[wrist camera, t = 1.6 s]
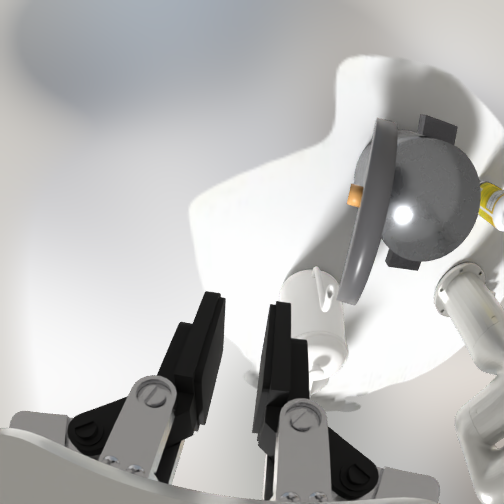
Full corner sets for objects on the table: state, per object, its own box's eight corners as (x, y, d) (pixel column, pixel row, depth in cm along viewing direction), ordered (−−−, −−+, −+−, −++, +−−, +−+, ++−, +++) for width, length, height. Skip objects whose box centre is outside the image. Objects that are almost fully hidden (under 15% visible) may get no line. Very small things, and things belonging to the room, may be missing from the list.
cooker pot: (456, 130, 36) (495, 141, 26) (425, 247, 46) (452, 282, 36) (366, 102, 36) (391, 103, 27) (341, 234, 46) (355, 270, 37)
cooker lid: (407, 123, 14) (358, 110, 15) (343, 345, 22) (309, 335, 23) (389, 121, 28) (363, 115, 29) (359, 255, 36) (337, 249, 37)
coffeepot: (351, 227, 46) (382, 298, 29) (329, 341, 57) (337, 420, 41) (282, 223, 47) (280, 295, 30) (276, 339, 58) (270, 419, 42)
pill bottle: (493, 210, 40) (527, 236, 31) (469, 215, 42) (502, 244, 32) (493, 177, 38) (531, 199, 28) (468, 182, 39) (505, 205, 29)
